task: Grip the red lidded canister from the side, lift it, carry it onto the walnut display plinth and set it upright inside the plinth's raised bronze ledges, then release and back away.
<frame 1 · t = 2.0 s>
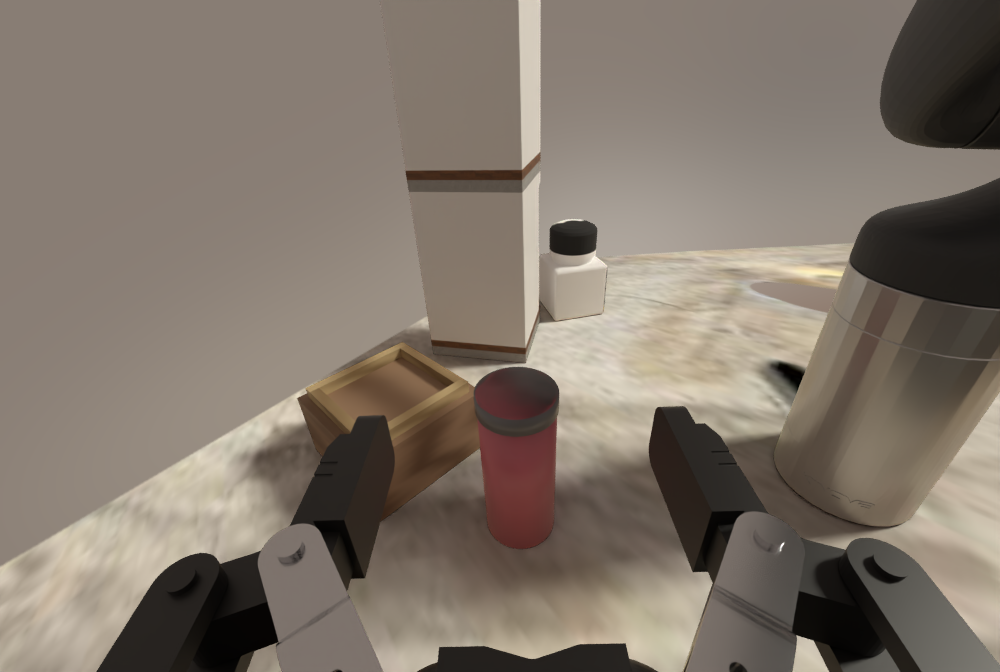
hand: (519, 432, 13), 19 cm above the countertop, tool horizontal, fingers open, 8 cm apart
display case: (489, 336, 56), on the countertop
display plinth: (400, 446, 39), on the countertop
medicine bottle: (570, 308, 61), on the countertop
red lidded canister: (520, 517, 32), on the countertop
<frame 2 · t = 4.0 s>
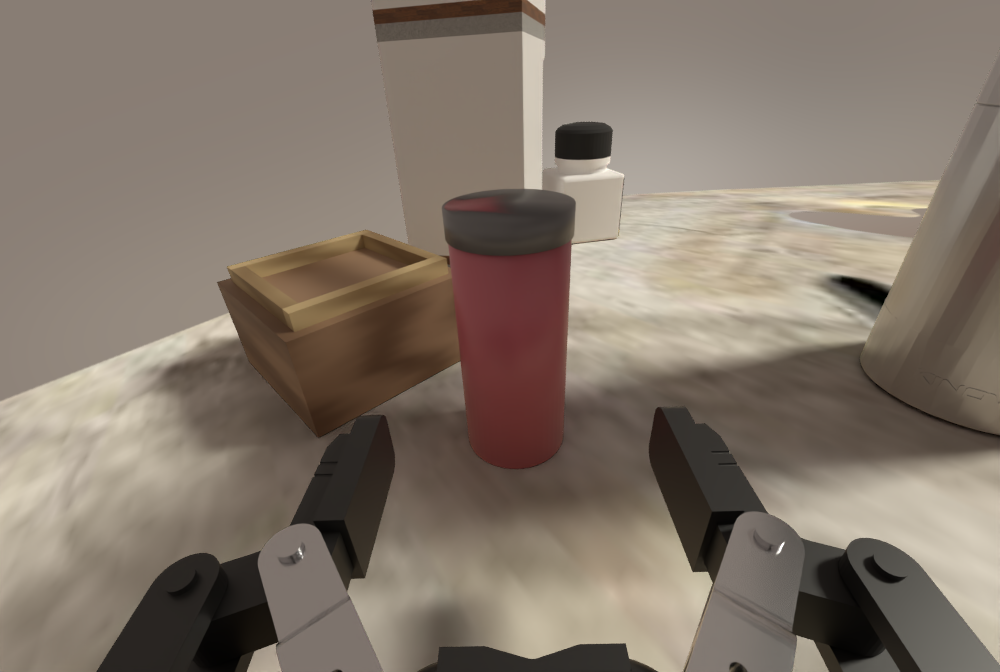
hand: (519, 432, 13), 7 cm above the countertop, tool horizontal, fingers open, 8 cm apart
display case: (482, 259, 46), on the countertop
display plinth: (359, 358, 30), on the countertop
medicine bottle: (578, 235, 52), on the countertop
red lidded canister: (515, 432, 23), on the countertop
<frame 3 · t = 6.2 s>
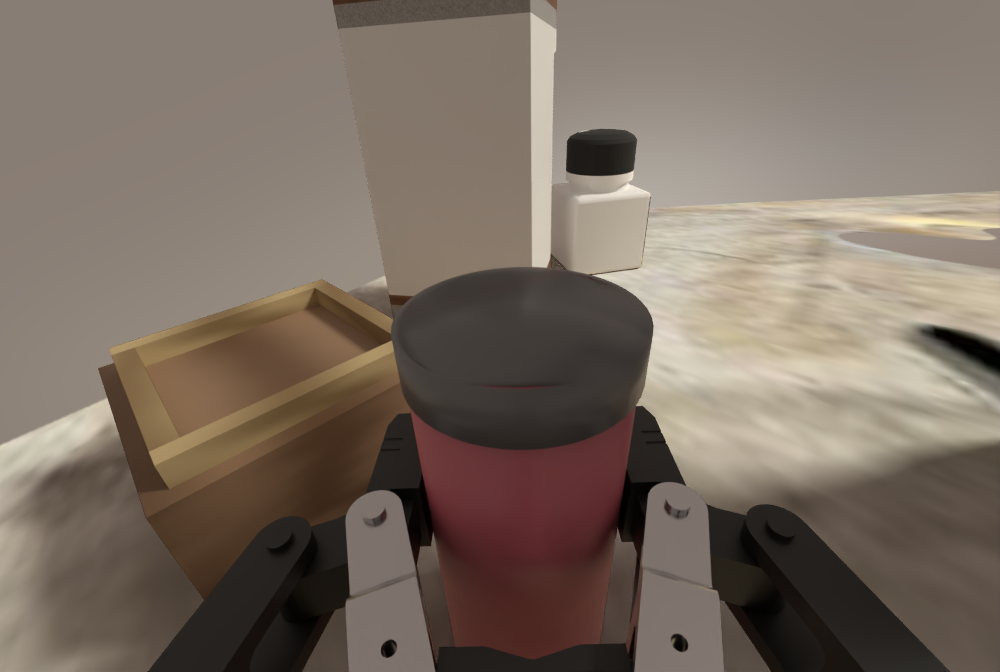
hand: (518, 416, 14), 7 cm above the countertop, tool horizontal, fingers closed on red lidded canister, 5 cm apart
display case: (479, 296, 38), on the countertop
display plinth: (309, 460, 22), on the countertop
medicine bottle: (592, 262, 44), on the countertop
red lidded canister: (525, 621, 15), on the countertop, touching gripper
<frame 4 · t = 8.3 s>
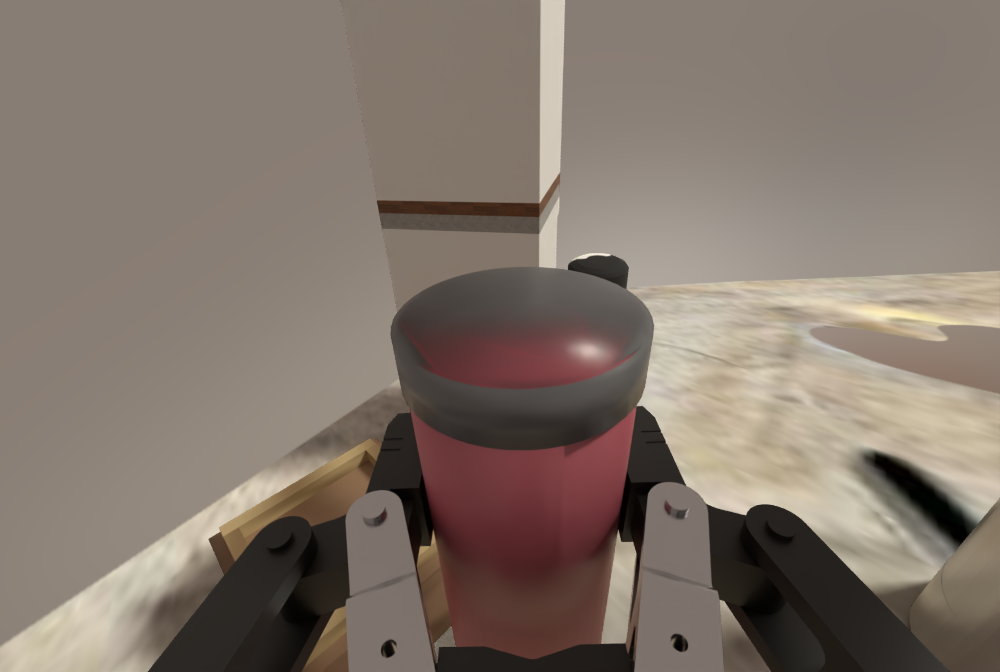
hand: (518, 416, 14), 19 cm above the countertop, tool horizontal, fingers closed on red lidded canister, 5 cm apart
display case: (491, 402, 44), on the countertop
display plinth: (363, 594, 28), on the countertop
medicine bottle: (590, 359, 50), on the countertop
red lidded canister: (526, 622, 15), point 12 cm above the countertop, touching gripper
when the fingers open (14 cm above the countertop, at t = 10.5 s): red lidded canister drops 1 cm, resting on display plinth.
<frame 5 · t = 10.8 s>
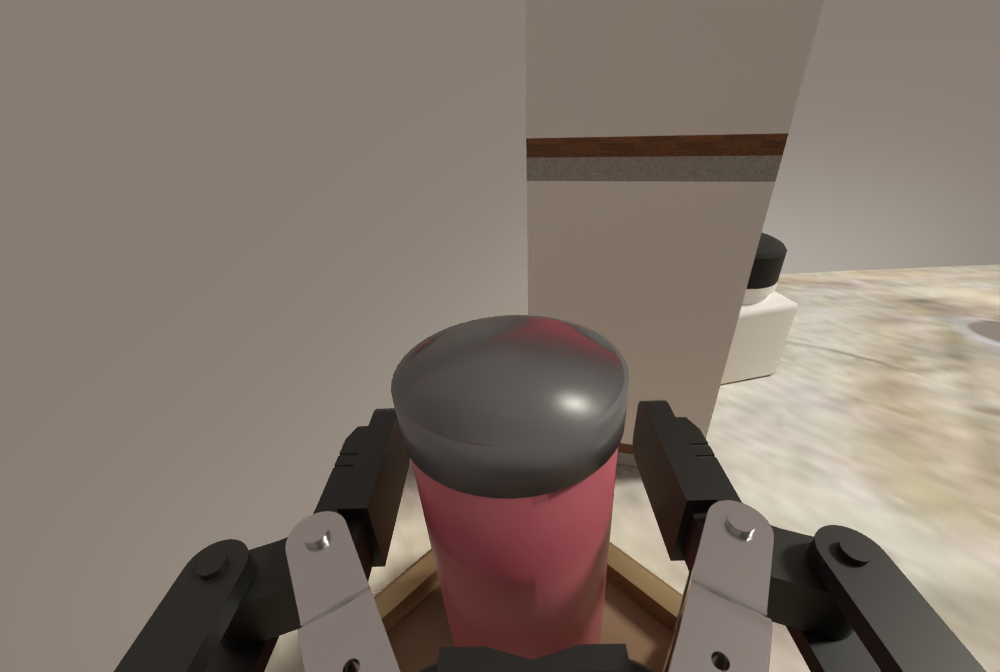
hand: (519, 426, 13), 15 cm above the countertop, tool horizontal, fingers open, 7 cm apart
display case: (610, 415, 35), on the countertop
medicine bottle: (714, 362, 41), on the countertop
red lidded canister: (527, 645, 16), point 6 cm above the countertop, touching display plinth
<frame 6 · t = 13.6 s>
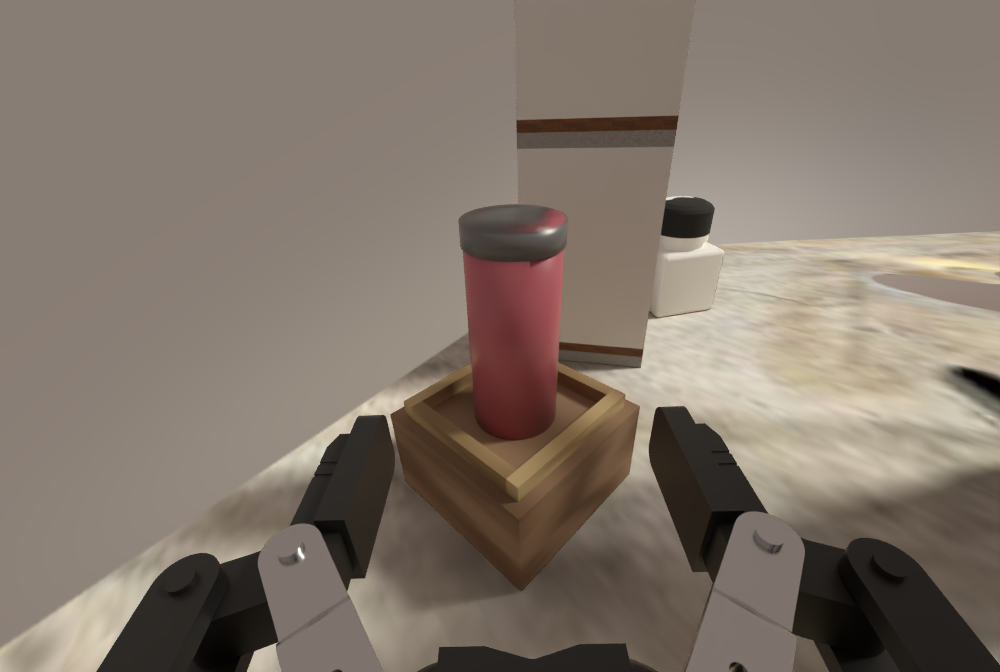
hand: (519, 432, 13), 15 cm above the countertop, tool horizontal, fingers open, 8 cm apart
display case: (583, 335, 46), on the countertop
display plinth: (516, 477, 30), on the countertop
medicine bottle: (667, 302, 52), on the countertop
red lidded canister: (515, 411, 27), point 6 cm above the countertop, touching display plinth
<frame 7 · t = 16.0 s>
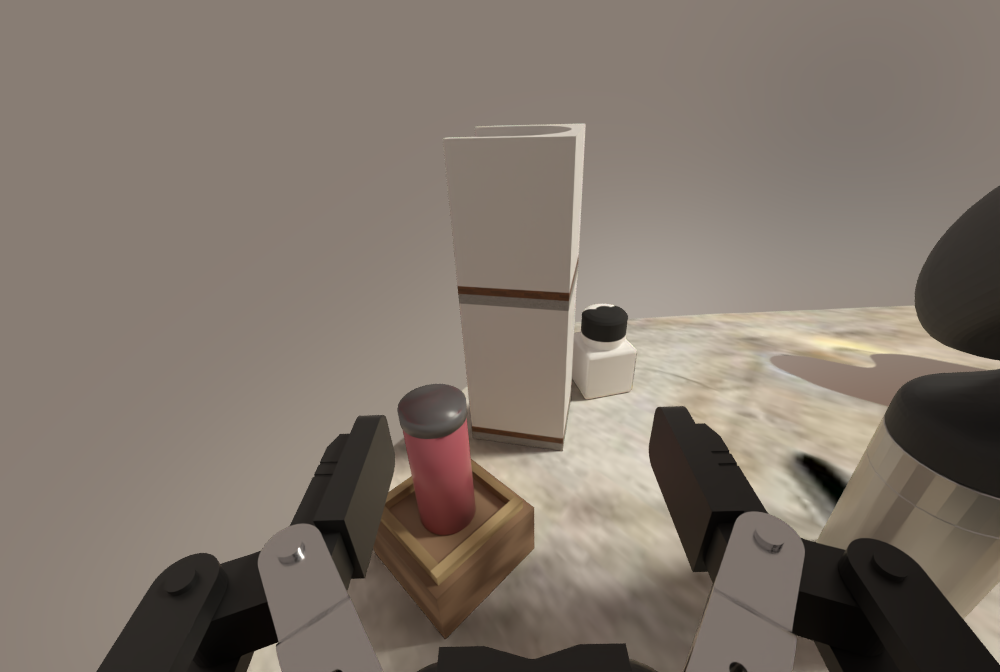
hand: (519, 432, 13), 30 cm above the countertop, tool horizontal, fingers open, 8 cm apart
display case: (524, 417, 58), on the countertop
display plinth: (454, 550, 42), on the countertop
medicine bottle: (598, 383, 64), on the countertop
red lidded canister: (447, 510, 39), point 6 cm above the countertop, touching display plinth
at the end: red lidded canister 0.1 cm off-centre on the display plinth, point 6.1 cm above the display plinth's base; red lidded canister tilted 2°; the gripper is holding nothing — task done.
